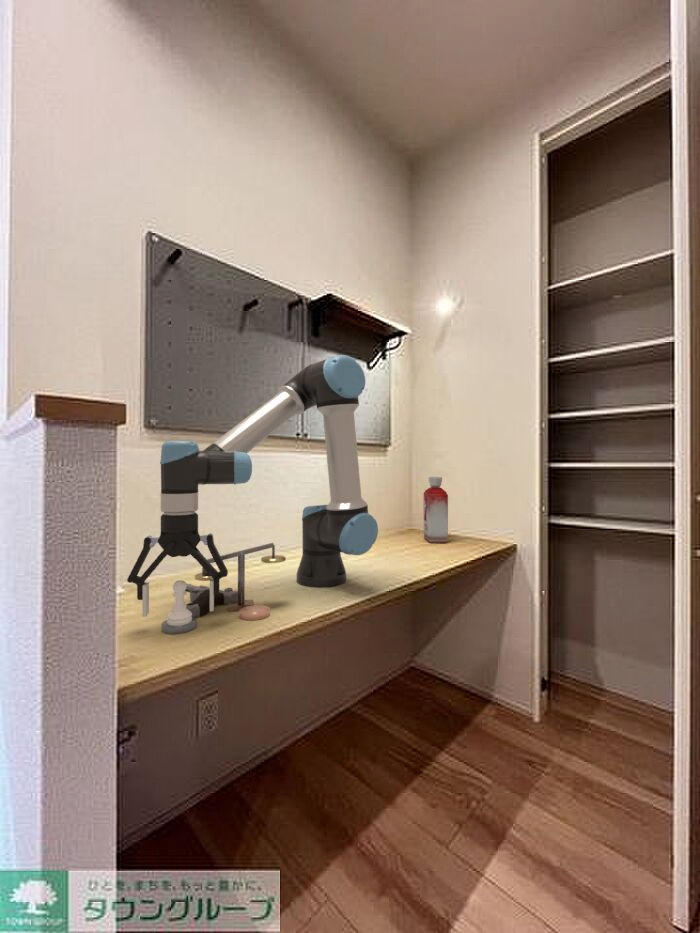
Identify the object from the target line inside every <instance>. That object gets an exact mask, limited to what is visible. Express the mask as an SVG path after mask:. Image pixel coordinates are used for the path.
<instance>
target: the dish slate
mask: <svg viewBox="0 0 700 933" xmlns="http://www.w3.org/2000/svg"><path fill="white" fill-rule="evenodd" d="M197 624H198V619H197V617H194V618H193V617H192V621H191V622H190V623H188V624H186V625H182V626H170V625H168V624H167V619H166V620H164V621H163V622H161V632H162V633H163V634H167V635H180V634H185V633H188V632H191V631H194V630H195V629H196V628H197V626H198V625H197Z"/></svg>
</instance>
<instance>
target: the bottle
mask: <svg viewBox="0 0 700 933" xmlns="http://www.w3.org/2000/svg"><path fill="white" fill-rule="evenodd" d="M442 482H443V477H442V476H429V477H428V483H429V486H430V487H428V488H427V489H425V490H424V492H423V532H422V533H423V534H424V535H423V538H424V539H426V541H428V542H429V543H430V544H446V543H448V537H449V494H448V492H447V491H446V490H445V489H443V488H442V487H441V486H442Z"/></svg>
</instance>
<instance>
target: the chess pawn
mask: <svg viewBox="0 0 700 933" xmlns="http://www.w3.org/2000/svg"><path fill="white" fill-rule="evenodd" d="M187 584H188V583H186V581H185V580H181V579H179V580H176V581H175V582H174V583H173V584H172V590H173V592H174V593H172V597H175V601H174V606H172V607H171V609H172V610H171V611H170V613H168V615H167V616H166V618H167V619H166V620H167V624H168V625H170V626H182V625H186V624H188V623H190V622H191V621H192V613H191V612H190V611H189V610H188V609H186V608H187V604H185V598H184V597H185V596H187V595H188V593H187V591H186V590H187V589H186V588H187Z"/></svg>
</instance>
